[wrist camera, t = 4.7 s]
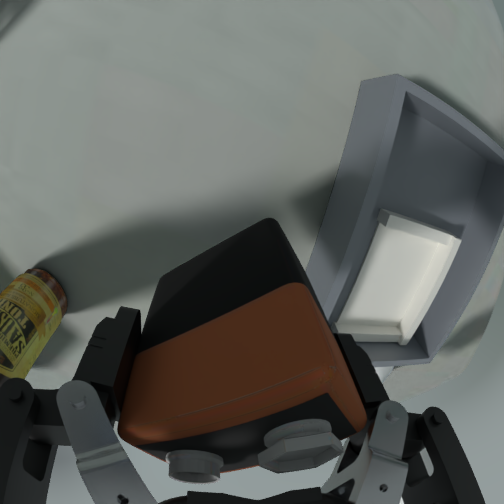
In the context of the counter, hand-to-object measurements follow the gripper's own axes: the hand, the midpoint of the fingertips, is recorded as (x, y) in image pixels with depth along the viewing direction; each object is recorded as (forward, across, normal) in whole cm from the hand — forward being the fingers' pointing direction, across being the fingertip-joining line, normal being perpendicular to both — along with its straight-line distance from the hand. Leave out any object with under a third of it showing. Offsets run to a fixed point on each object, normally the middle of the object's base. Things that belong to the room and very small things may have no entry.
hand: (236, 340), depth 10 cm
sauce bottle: (+12, +17, +10) cm, 23 cm away
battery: (+5, 0, 0) cm, 5 cm away
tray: (+12, -15, -2) cm, 19 cm away
